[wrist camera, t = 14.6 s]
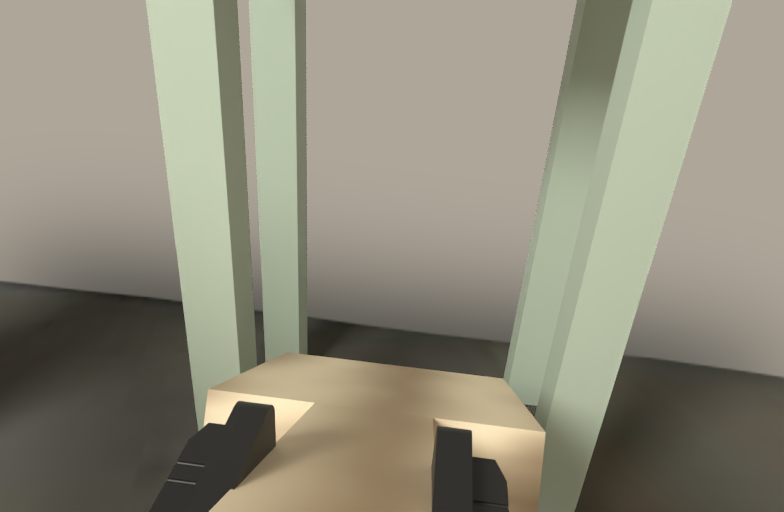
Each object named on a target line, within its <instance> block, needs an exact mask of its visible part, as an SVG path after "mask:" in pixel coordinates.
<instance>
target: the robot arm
mask: <svg viewBox="0 0 784 512" xmlns="http://www.w3.org/2000/svg"><path fill="white" fill-rule="evenodd" d="M275 446H276V429H275V409H274V406H273V405H269V404H261V403H253V402H245V401H238V402H237V403H236V404H235V406H234V407H233V409H232V412H231V414H230V416H229V418H228V420H227V422H226V424H225V425H224V424H216V423H208V424H207V425H205V426H204V427H203V428H202V429H201V430H200V431H199V432H197V433H196V434H195V435H194V436H193V437H192V438H190V439H189V441H188V443H187V444H186V446H185V448H184V450H183V452H182V453H181V455H180V457H179V459H178V462H177V465H175V466H174V468H173V470H172V472H171V473H170V475H169V477H168V481H167V482H165V484H164V486H163V488H162V490H161V491H160V493H159V495H158V497H157V499H156V501H155V502H154V504H153V506H152V508H151V510H150V511H149V512H209V511H210V510H211V509H212V508H213V507H214V506H215V505H216V504H217V503H218V502H219V501H220V499H221V498H222V497H223V496H224V495H225V494H226V493H227V492H228V491H229V490H230V489H233V490H234V489H235V488H236V487H237V486H238V485H239V484H240V483H241V482H242V481H243V480H244V479H245V478H246V477H247V476H248V475H249V474H250V473H251V472H252V471H253V470H254V468H255V467H256V466H257V465H258V464H259V463H260V462H261V461H262V460H263V459H264V458H265V457H266V456H267V455H268V454H269V453H270V452H271V451H272V450H273V449H274V448H275ZM431 480H432V512H509V510H508V506H509V503H508V488H507V480H506V479H505V477H504V475H503V473H502V471H501V469H500V468H499V466H498V464H497V462H496V460H494V459H486V458H479V457H472V430H467V429H459V428H452V427H444V426H437V429H436V436H435V443H434V450H433V458H432V465H431Z"/></svg>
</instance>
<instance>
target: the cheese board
mask: <svg viewBox="0 0 784 512" xmlns="http://www.w3.org/2000/svg"><path fill="white" fill-rule="evenodd" d="M238 401H245V402H253V403H261V404H269V405H273V406H274V409H275V429H276V446H275V448H274V449H273V450H272V451H271V452H270V453H269V454H268V455H267V456H266V457H265V458H264V459H263V460H262V461H261V462H260V463H259V464H258V465H257V466H256V467H255V468H254V470H253V471H252V472H251V473H250V474H249V475H248V476H247V477H246V478H245V479H244V480H243V481H242V482H241V483H240V484H239V485H238V486H237V487H236V488H235V489H234V490H233V489H230V490H229V491H228V492H227V493H226V494H225V495H224V496H223V497H222V498H221V499H220V501H219V502H218V503H217V504H216V505H215V506H214V507H213V508H212V509H211V510H210V511H209V512H432V480H431V465H432V458H433V450H434V443H435V436H436V429H437V426H444V427H452V428H459V429H467V430H472V457H479V458H486V459H494V460H496V462H497V464H498V466H499V468H500V469H501V471H502V473H503V475H504V477H505V479H506V480H507V488H508V503H509V506H508V510H509V512H538V503H539V493H540V483H541V473H542V463H543V454H544V444H545V434H546V432H545V431H544V429H543V428H542V427H541V426H540V424H539V423H538V422H537V421H536V419H535V418H534V417H533V416H532V414H531V413H530V412H529V410H528V409H527V408H526V407H525V405H524V404H523V403H522V402H521V400H520V399H519V398H518V397H517V395H516V394H515V393H514V391H513V390H512V389H511V388H510V386H509V385H508V384H507V383H506V381H505V380H504V379H502V378H494V377H485V376H477V375H469V374H461V373H453V372H444V371H436V370H428V369H420V368H412V367H404V366H395V365H387V364H379V363H371V362H363V361H355V360H346V359H338V358H330V357H322V356H314V355H305V354H297V353H289V352H286V353H284V354H282V355H280V356H278V357H276V358H273V359H271V360H269V361H267V362H265V363H263V364H261V365H259V366H256V367H254V368H252V369H250V370H248V371H246V372H244V373H241V374H239V375H237V376H235V377H233V378H231V379H229V380H226V381H224V382H222V383H220V384H218V385H216V386H214V387H212V388H209V389H208V394H207V402H206V410H205V418H204V426H205V425H207V424H208V423H216V424H224V425H225V424H226V422H227V420H228V418H229V416H230V414H231V412H232V409H233V407H234V406H235V404H236V403H237V402H238ZM204 426H203V427H204Z"/></svg>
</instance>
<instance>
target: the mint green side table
mask: <svg viewBox="0 0 784 512" xmlns="http://www.w3.org/2000/svg"><path fill="white" fill-rule="evenodd" d="M732 1H733V0H577V4H576V9H575V14H574V19H573V25H572V30H571V35H570V40H569V45H568V50H567V55H566V60H565V66H564V71H563V76H562V81H561V87H560V91H559V96H558V102H557V107H556V112H555V117H554V122H553V127H552V132H551V137H550V143H549V148H548V153H547V158H546V164H545V168H544V173H543V178H542V184H541V189H540V194H539V199H538V204H537V209H536V215H535V220H534V225H533V230H532V235H531V240H530V245H529V250H528V255H527V261H526V266H525V271H524V276H523V282H522V286H521V292H520V296H519V302H518V307H517V312H516V317H515V322H514V327H513V332H512V338H511V343H510V348H509V353H508V358H507V363H506V368H505V373H504V380H505V381H506V383H507V384H508V385H509V386H510V388H511V389H512V390H513V391H514V393H515V394H516V395H517V397H518V398H519V399H520V400H521V402H522V403H523V404H525V405H533V406H537V409H536V413H535V417H534V418H535V419H536V421H537V422H538V423H539V424H540V426H541V427H542V428H543V429H544V431H545V432H546V434H545V444H544V454H543V463H542V473H541V483H540V493H539V503H538V512H575V509H576V506H577V502H578V499H579V496H580V493H581V489H582V486H583V483H584V480H585V476H586V473H587V470H588V467H589V463H590V460H591V457H592V454H593V451H594V447H595V444H596V441H597V438H598V434H599V431H600V428H601V425H602V421H603V418H604V415H605V412H606V408H607V405H608V402H609V399H610V395H611V392H612V389H613V386H614V383H615V379H616V376H617V373H618V370H619V366H620V363H621V360H622V357H623V353H624V350H625V347H626V344H627V340H628V337H629V334H630V331H631V327H632V324H633V321H634V318H635V315H636V311H637V308H638V305H639V302H640V298H641V295H642V292H643V289H644V285H645V282H646V279H647V276H648V272H649V269H650V266H651V262H652V260H653V256H654V253H655V250H656V247H657V243H658V240H659V237H660V234H661V230H662V227H663V224H664V221H665V217H666V214H667V211H668V207H669V204H670V201H671V198H672V195H673V192H674V188H675V185H676V182H677V179H678V175H679V172H680V169H681V166H682V162H683V159H684V156H685V153H686V149H687V146H688V143H689V140H690V136H691V133H692V130H693V126H694V124H695V120H696V117H697V114H698V111H699V107H700V104H701V101H702V98H703V94H704V91H705V88H706V85H707V81H708V78H709V75H710V72H711V69H712V65H713V62H714V59H715V56H716V52H717V49H718V46H719V43H720V39H721V36H722V33H723V30H724V26H725V23H726V20H727V16H728V13H729V10H730V7H731V4H732ZM146 6H147V14H148V22H149V30H150V38H151V47H152V55H153V62H154V71H155V78H156V88H157V96H158V104H159V112H160V121H161V128H162V137H163V145H164V153H165V161H166V170H167V178H168V186H169V194H170V203H171V211H172V219H173V227H174V236H175V244H176V252H177V260H178V268H179V277H180V285H181V292H182V301H183V309H184V318H185V326H186V334H187V342H188V350H189V359H190V367H191V375H192V383H193V391H194V400H195V408H196V416H197V424H198V432H199V431H200V430H201V429H202V428H203V426H204V418H205V410H206V402H207V394H208V389H209V388H212V387H214V386H216V385H218V384H220V383H222V382H224V381H226V380H229V379H231V378H233V377H235V376H237V375H239V374H241V373H244V372H246V371H248V370H250V369H252V368H254V367H256V366H257V355H256V337H255V319H254V302H253V283H252V266H251V246H250V229H249V210H248V192H247V173H246V155H245V137H244V119H243V100H242V82H241V64H240V46H239V27H238V9H237V0H146ZM249 15H250V36H251V57H252V80H253V101H254V122H255V144H256V164H257V188H258V208H259V229H260V253H261V272H262V273H261V274H262V296H263V318H264V339H265V361H266V362H267V361H269V360H271V359H273V358H276V357H278V356H280V355H282V354H284V353H286V352H289V353H297V354H305V355H307V187H306V186H307V171H306V170H307V166H306V165H307V163H306V162H307V161H306V0H249Z"/></svg>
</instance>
